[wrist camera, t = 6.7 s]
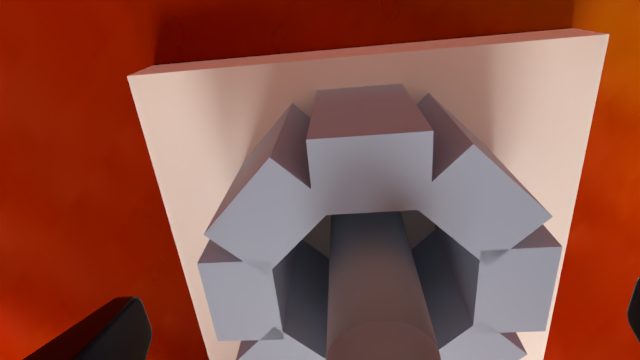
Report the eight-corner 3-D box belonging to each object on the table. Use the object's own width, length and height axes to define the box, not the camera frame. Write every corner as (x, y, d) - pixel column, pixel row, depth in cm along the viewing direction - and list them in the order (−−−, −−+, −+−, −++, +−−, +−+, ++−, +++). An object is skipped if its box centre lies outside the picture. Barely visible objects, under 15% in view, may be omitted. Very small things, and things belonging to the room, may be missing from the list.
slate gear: (479, 298, 12) (530, 408, 9) (262, 306, 13) (236, 413, 9) (503, 75, 9) (588, 120, 6) (222, 97, 10) (166, 148, 7)
